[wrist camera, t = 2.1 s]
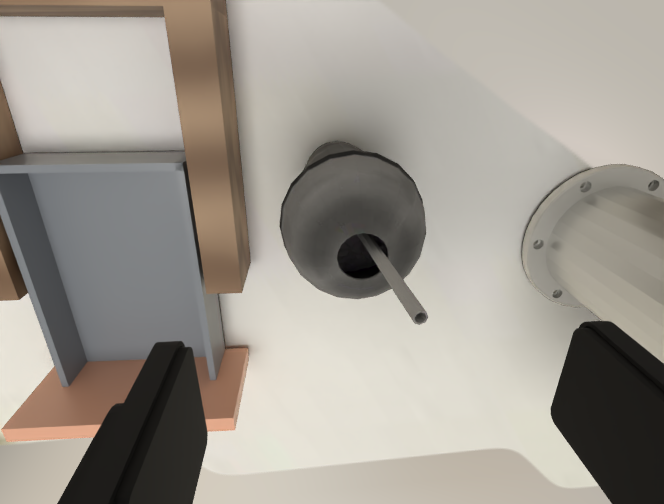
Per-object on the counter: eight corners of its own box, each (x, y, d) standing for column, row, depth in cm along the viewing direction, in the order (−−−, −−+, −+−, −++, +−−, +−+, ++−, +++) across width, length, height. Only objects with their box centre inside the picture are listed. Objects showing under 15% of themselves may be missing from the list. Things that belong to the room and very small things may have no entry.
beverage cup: (285, 122, 29) (252, 211, 11) (385, 120, 29) (518, 202, 11) (290, 218, 32) (272, 414, 14) (381, 215, 32) (481, 402, 14)
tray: (249, 362, 37) (235, 434, 30) (69, 370, 36) (9, 446, 29) (226, 150, 29) (199, 177, 22) (-6, 153, 28) (-115, 183, 21)
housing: (250, 262, 33) (242, 292, 29) (26, 268, 32) (-19, 301, 28) (222, -29, 25) (204, -52, 20) (-80, -33, 24) (-170, -57, 19)
